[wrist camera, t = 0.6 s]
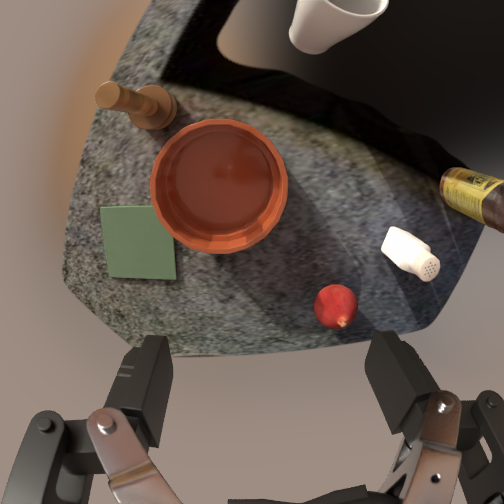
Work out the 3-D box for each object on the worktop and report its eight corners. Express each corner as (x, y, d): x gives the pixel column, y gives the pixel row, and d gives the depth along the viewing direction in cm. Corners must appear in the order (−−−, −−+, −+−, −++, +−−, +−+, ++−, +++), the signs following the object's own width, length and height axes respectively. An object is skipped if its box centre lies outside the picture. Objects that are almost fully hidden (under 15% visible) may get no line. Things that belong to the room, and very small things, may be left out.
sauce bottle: (466, 166, 34) (567, 199, 16) (463, 206, 36) (557, 254, 18) (435, 164, 34) (544, 197, 16) (433, 206, 36) (533, 260, 18)
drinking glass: (346, 48, 28) (405, 7, 14) (303, 69, 29) (345, 29, 16) (315, 8, 26) (355, -51, 12) (271, 28, 27) (290, -33, 13)
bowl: (163, 123, 31) (149, 121, 26) (283, 124, 32) (291, 121, 27) (165, 236, 37) (154, 252, 31) (277, 238, 37) (283, 255, 32)
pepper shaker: (410, 232, 38) (447, 258, 29) (399, 257, 39) (433, 288, 30) (389, 224, 37) (426, 249, 28) (378, 250, 38) (411, 281, 30)
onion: (351, 275, 40) (373, 305, 32) (342, 310, 42) (360, 343, 34) (312, 273, 39) (328, 304, 32) (305, 309, 41) (317, 344, 34)
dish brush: (136, 91, 29) (81, 70, 16) (178, 87, 30) (140, 58, 17) (135, 131, 31) (78, 131, 18) (176, 128, 32) (137, 124, 19)
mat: (101, 206, 35) (99, 207, 34) (172, 205, 35) (171, 205, 35) (110, 275, 38) (109, 277, 38) (176, 278, 39) (176, 279, 38)
